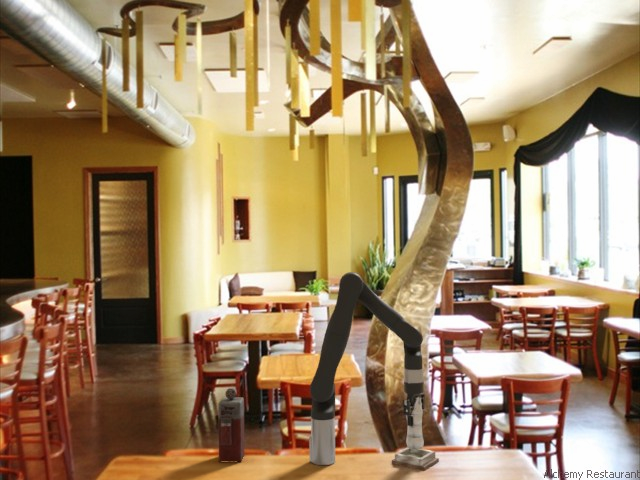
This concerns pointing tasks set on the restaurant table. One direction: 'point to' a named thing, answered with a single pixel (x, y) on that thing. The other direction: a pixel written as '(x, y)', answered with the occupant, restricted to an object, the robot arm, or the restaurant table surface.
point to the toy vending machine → (231, 427)
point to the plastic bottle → (415, 429)
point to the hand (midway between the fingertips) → (414, 423)
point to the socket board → (415, 458)
